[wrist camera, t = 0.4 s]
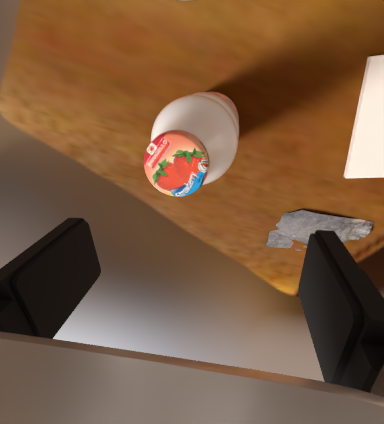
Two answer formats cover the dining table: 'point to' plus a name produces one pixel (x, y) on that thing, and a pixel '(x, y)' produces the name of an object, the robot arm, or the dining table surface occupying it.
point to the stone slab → (315, 228)
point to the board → (368, 125)
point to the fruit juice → (192, 143)
